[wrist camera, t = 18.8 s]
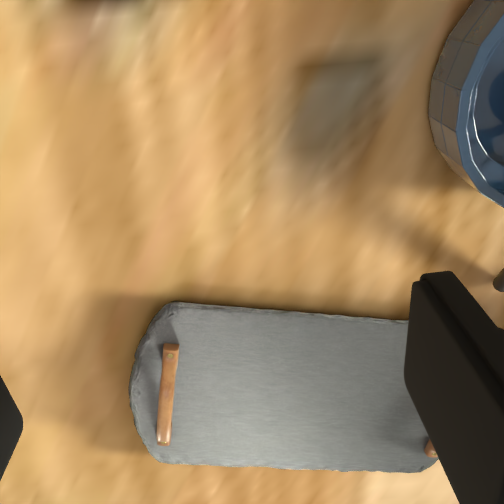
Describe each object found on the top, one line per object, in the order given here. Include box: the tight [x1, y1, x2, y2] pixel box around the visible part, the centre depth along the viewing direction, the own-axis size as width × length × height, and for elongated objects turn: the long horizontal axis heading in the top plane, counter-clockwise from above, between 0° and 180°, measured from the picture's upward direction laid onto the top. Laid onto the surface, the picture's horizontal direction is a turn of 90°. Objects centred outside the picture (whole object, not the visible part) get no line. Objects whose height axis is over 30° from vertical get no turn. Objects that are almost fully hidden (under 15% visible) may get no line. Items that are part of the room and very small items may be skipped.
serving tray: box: [129, 301, 439, 473], centre depth 48 cm, size 39×23×6 cm, turn 82°
